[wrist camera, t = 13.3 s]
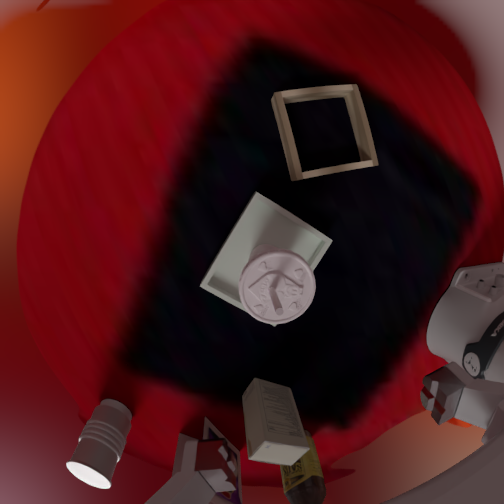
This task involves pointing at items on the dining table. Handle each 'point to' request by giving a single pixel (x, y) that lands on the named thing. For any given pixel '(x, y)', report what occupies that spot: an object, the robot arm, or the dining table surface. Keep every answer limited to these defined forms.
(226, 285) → the tray
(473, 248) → the dining table surface
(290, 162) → the frame
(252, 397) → the skincare box
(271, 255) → the smoothie
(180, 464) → the greeting card
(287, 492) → the sauce bottle
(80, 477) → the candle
